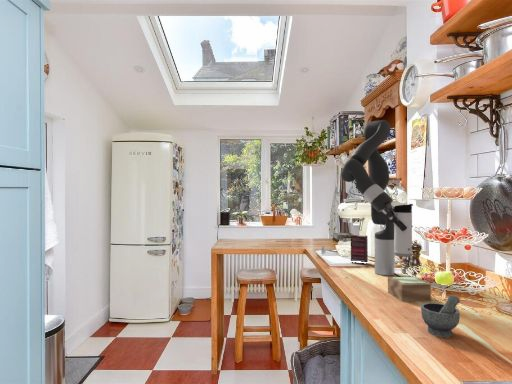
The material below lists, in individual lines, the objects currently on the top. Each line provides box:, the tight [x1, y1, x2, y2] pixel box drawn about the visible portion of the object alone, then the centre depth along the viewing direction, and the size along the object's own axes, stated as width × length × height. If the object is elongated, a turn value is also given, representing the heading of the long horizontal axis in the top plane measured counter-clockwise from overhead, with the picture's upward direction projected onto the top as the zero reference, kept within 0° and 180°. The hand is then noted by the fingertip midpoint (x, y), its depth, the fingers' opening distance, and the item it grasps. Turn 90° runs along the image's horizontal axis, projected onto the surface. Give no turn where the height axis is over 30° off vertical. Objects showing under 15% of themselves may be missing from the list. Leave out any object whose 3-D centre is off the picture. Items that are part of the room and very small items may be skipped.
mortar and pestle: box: [420, 294, 461, 338], centre depth 93 cm, size 11×9×12 cm
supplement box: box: [350, 234, 369, 262], centre depth 189 cm, size 9×5×16 cm, turn 58°
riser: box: [387, 276, 432, 302], centre depth 127 cm, size 11×11×6 cm
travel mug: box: [394, 203, 414, 258], centre depth 128 cm, size 6×7×20 cm
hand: (408, 228), depth 127 cm, fingers closed on travel mug, 6 cm apart
